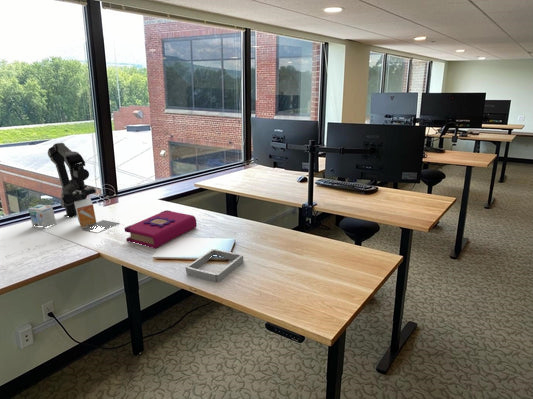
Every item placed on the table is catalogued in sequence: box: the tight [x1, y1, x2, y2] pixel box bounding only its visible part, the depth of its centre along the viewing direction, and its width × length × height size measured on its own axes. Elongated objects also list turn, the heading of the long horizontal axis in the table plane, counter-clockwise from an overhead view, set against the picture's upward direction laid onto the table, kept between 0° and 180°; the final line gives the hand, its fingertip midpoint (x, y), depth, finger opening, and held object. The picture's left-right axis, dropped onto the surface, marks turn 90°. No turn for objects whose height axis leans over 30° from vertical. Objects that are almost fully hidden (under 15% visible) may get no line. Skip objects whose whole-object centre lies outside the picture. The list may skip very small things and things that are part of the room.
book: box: [123, 209, 198, 249], centre depth 189 cm, size 21×28×8 cm
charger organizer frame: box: [185, 248, 244, 283], centre depth 154 cm, size 16×18×3 cm
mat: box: [81, 219, 120, 232], centre depth 205 cm, size 13×14×1 cm
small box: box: [74, 197, 97, 228], centre depth 205 cm, size 8×6×13 cm
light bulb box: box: [28, 204, 57, 227], centre depth 209 cm, size 11×7×11 cm, turn 68°
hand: (82, 205), depth 206 cm, fingers closed
